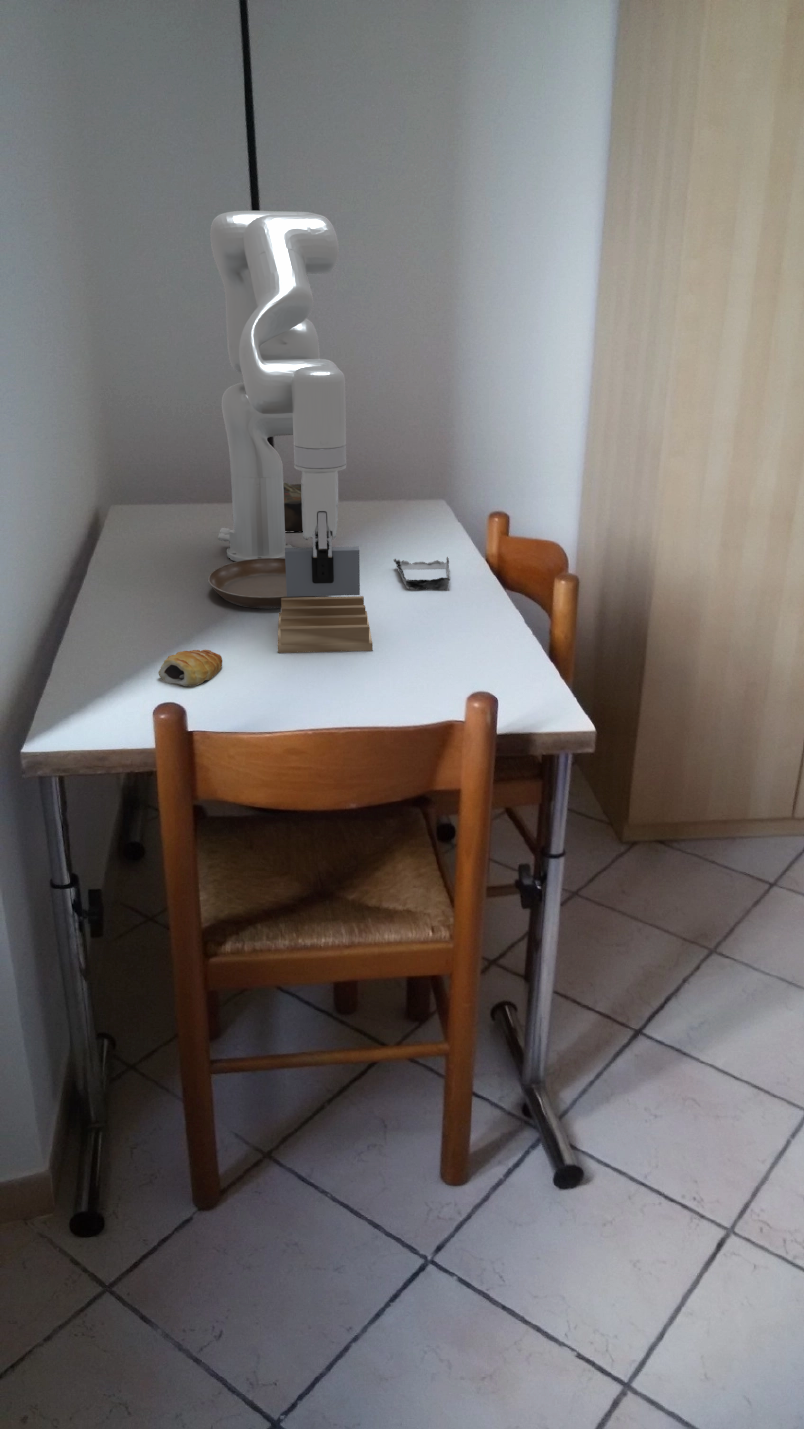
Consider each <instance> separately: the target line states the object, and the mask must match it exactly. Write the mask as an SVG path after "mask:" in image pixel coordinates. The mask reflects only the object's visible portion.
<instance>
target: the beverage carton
mask: <svg viewBox="0 0 804 1429" xmlns="http://www.w3.org/2000/svg"><path fill="white" fill-rule="evenodd" d="M283 489H284V516H285V531H303V528H302V498H301V483H295V484H294V483H293V484H291V483H289V482H283Z"/></svg>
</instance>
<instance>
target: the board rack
mask: <svg viewBox="0 0 804 1429" xmlns="http://www.w3.org/2000/svg"><path fill="white" fill-rule="evenodd" d="M364 601H365V599H364V596H363V595H362V596H361V595H348V596H317V597H299V598H281V608H280V612H278V624H277V625H278V626H277V653H278V654H286V653H287V654H289V653H290V654H292V653H294V654H295V653H296V654H298V653H330V652H331V653H332V652H371V651H373V644H374V642H373V640H372V639H373V637H372V634H371V633H372V632H371V629H370V628H371V627H370V622H369V616H368V611H367V610H366V605H365V602H364Z"/></svg>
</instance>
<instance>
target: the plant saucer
mask: <svg viewBox="0 0 804 1429" xmlns="http://www.w3.org/2000/svg"><path fill="white" fill-rule="evenodd" d="M207 579H208V580H207V581H208V583H209V584H210V586H211V588H212V589H213V590H214V591H215V592H216V593H217V595H219V596H220V597H222V598H223V599H224V600H225V601H227V602H229V603H231V604H234V605H236V606H241V607H245V608H251V609H281V598H299V597H318V596H295V597H287V591H286V565H285V558H259V559H250V560H243V561H238V562H236V561H234V562H230V563H226V564H224V565H222V566H219V567H217V568H216V569H214V570H213V571H212V572H211V573H210V574H209V575H208V578H207Z"/></svg>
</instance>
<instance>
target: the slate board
mask: <svg viewBox="0 0 804 1429" xmlns="http://www.w3.org/2000/svg"><path fill="white" fill-rule="evenodd" d="M332 556H333V566H334V582H333V583H313V582H312V557H313V546H307V547H305V546H304V547H302V546H301V547H293V548H285V565H286V591H287V597H295V596H317V597H342V596H361V595H360V594H361V592H360V591H361V589H360V588H361V587H360V586H361V585H360V584H361V582H360V579H361V578H360V577H361V576H360V570H361V569H360V565H361V564H360V547H359V546H332Z"/></svg>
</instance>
